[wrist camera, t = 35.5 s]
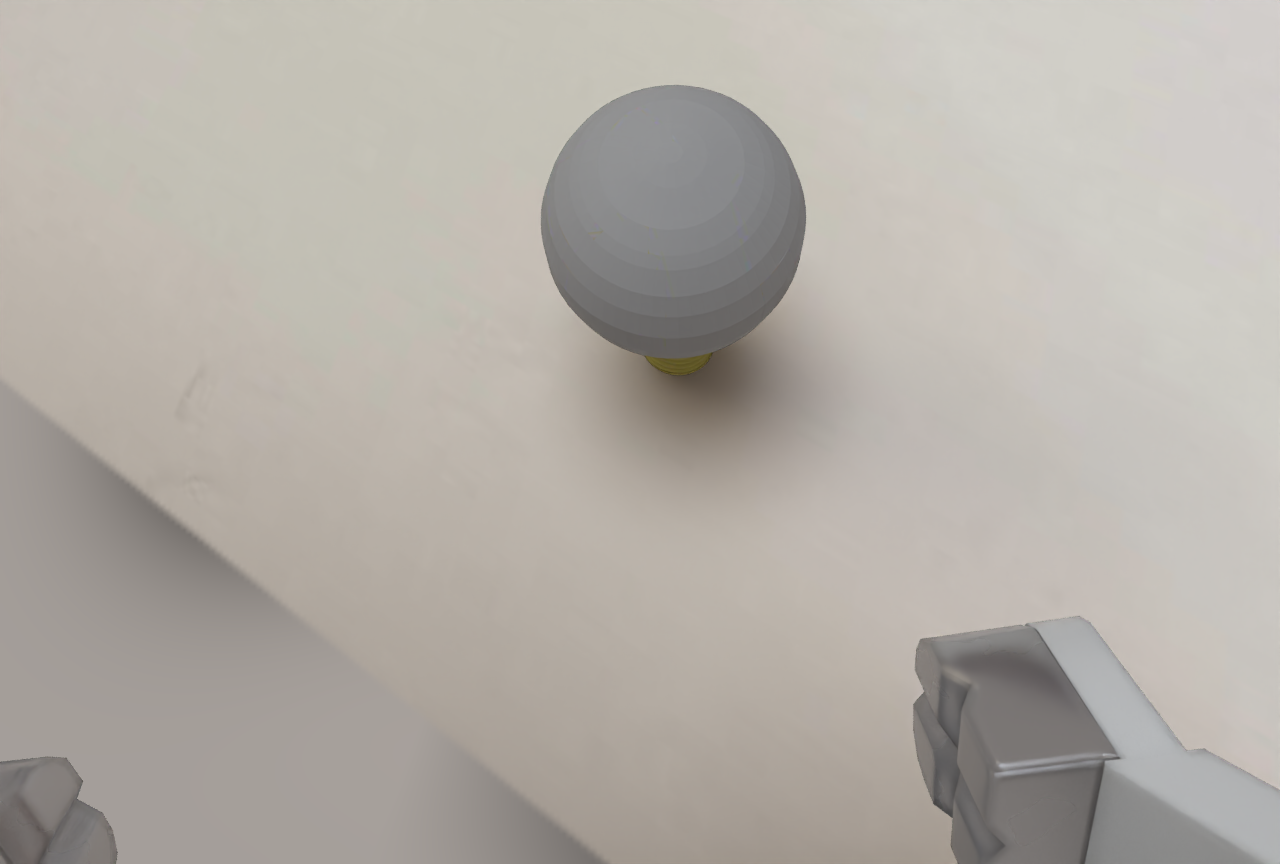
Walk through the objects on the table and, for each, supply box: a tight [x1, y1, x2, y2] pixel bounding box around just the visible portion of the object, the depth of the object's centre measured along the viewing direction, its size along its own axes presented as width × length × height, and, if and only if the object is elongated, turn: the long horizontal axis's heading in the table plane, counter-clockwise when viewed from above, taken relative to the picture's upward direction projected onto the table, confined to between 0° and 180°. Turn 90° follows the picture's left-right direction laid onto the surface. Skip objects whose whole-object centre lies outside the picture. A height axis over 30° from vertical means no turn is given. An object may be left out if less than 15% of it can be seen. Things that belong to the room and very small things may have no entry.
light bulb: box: [541, 85, 806, 375], centre depth 21 cm, size 6×6×10 cm
